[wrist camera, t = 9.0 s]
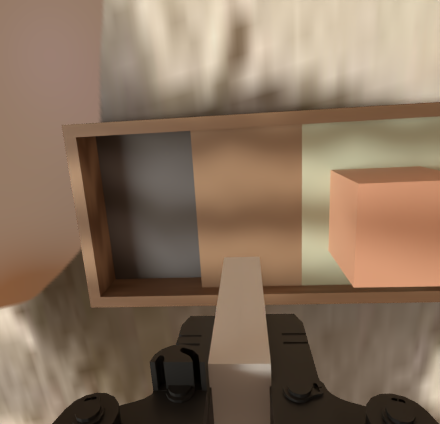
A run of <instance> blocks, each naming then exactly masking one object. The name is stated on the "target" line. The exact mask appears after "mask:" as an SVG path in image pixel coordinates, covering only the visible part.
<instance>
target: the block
mask: <svg viewBox="0 0 440 424" xmlns="http://www.w3.org/2000/svg"><path fill="white" fill-rule="evenodd" d="M328 251H329V252H330V254H331V255H332V257H333V258H334V260H335V261H336V262H337V264H338V265H339V267H340V268H341V270H342V271H343V273H344V274H345V276H346V277H347V279H348V280H349V282H350V283H351V284H352V286H353V287H354V288H360V287H426V286H440V171H439V170H435V169H430V168H426V167H421V166H413V167H389V168H366V169H342V170H331V171H330V209H329V247H328Z"/></svg>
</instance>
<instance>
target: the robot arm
mask: <svg viewBox="0 0 440 424" xmlns="http://www.w3.org/2000/svg"><path fill="white" fill-rule="evenodd" d="M150 368H151V375H152V383H153V394H152V395H150V396H148V397H146V398H145V399H142V400H139V401H136V402H132V403H128V404H124V405H120V406H119V403H118V402H117V400H116V399H115V397H114V396H111V395H109V394H107V393H94V394H90V395H86V396H84V397H82V398H80V399H78V400H76V401H74V402H73V403H72V404H71V405H70V406H69V407H67V408H66V409H65V410H64V411H63V412H62V414H61V415H60V416H59V417H58V418H57V419H56V420H55V421H54V422H53V423H52V424H439V423H438V422H437V421H436V420H435V419H434V418H433V417H432V416H431V415H430V414H429V413H428V412H427V411H426V410H425V409H424V408H422V407H421V406H420V405H419V404H418V403H416V402H414V401H412V400H410V399H408V398H406V397H403V396H399V395H395V394H379V395H377V396H374V397H372V398H371V399H370V400H369V402H368V403H367V405H366V406H362V405H359V404H355V403H351V402H348V401H345V400H342V399H340V398H338V397H336V396H334V395H332V394H331V393H330V392H329V391H327V389H326V387H325V385H324V384H323V383H322V382H321V381H320V380H319V378H318V375H317V371H316V368H315V364H314V361H313V357H312V354H311V350H310V347H309V344H308V340H307V336H306V333H305V329H304V326H303V323H302V322H301V321H300V320H299V319H298V318H297V317H296V316H295V315H294V314H266V313H265V304H264V294H263V285H262V276H261V266H260V257H226V258H224V262H223V269H222V275H221V282H220V288H219V295H218V301H217V308H216V314H215V316H190V317H189V318H188V319H187V320H186V322H185V323H184V324H183V325H182V327H181V330H180V333H179V337H178V340H177V343H176V345H173V346H170V347H167V348H164V349H162V350H161V351H159V352H158V353H157V354H155V355H154V357H153V358H152V359H151V361H150Z"/></svg>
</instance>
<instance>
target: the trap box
mask: <svg viewBox="0 0 440 424" xmlns="http://www.w3.org/2000/svg"><path fill="white" fill-rule="evenodd" d="M62 130H63V137H64V143H65V149H66V154H67V161H68V167H69V174H70V180H71V186H72V191H73V198H74V204H75V210H76V217H77V223H78V229H79V235H80V241H81V248H82V254H83V260H84V266H85V272H86V278H87V285H88V291H89V297H90V303H91V307H150V306H214V305H217V301H218V295H219V288H220V282H221V275H222V269H223V262H224V258H226V257H260V266H261V276H262V285H263V294H264V304H265V305H278V304H343V303H407V302H440V286H426V287H360V288H354V287H353V286H352V284H351V283H350V282H349V280H348V279H347V277H346V276H345V274H344V273H343V271H342V270H341V268H340V267H339V265H338V264H337V262H336V261H335V260H334V258H333V257H332V255H331V254H330V252H329V251H328V247H329V209H330V171H331V170H342V169H366V168H389V167H413V166H421V167H426V168H430V169H435V170H439V171H440V102H434V103H418V104H401V105H385V106H368V107H352V108H335V109H319V110H302V111H286V112H269V113H253V114H236V115H220V116H203V117H187V118H170V119H154V120H137V121H121V122H104V123H89V124H72V125H62Z"/></svg>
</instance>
